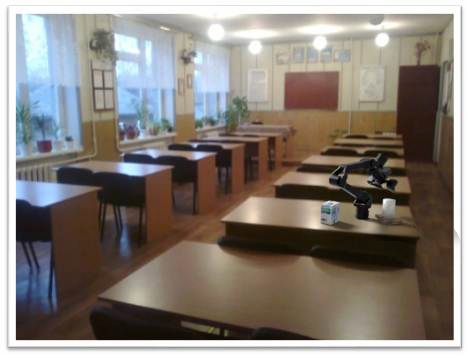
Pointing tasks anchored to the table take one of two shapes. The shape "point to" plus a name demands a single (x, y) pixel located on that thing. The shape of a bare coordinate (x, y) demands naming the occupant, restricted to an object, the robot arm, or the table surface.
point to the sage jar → (388, 208)
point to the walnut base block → (388, 220)
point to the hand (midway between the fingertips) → (388, 190)
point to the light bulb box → (330, 212)
